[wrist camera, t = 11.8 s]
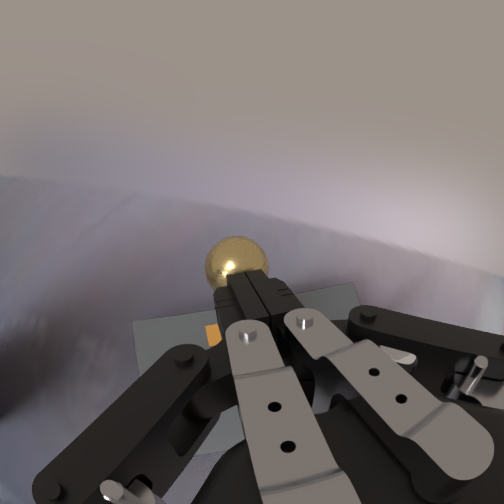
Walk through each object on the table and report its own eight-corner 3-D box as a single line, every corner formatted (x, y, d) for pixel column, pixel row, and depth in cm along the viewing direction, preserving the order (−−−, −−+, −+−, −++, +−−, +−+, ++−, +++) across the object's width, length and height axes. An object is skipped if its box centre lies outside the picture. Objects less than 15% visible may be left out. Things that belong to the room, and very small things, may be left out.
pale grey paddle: (364, 348, 26) (431, 360, 17) (336, 359, 25) (399, 378, 16) (362, 331, 27) (429, 336, 17) (333, 340, 26) (397, 352, 16)
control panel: (371, 396, 27) (386, 397, 24) (164, 450, 22) (158, 458, 19) (341, 290, 32) (353, 280, 30) (139, 326, 27) (131, 320, 24)
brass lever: (257, 393, 22) (280, 262, 11) (224, 399, 22) (207, 273, 11) (248, 365, 24) (260, 219, 13) (217, 371, 24) (198, 227, 13)
